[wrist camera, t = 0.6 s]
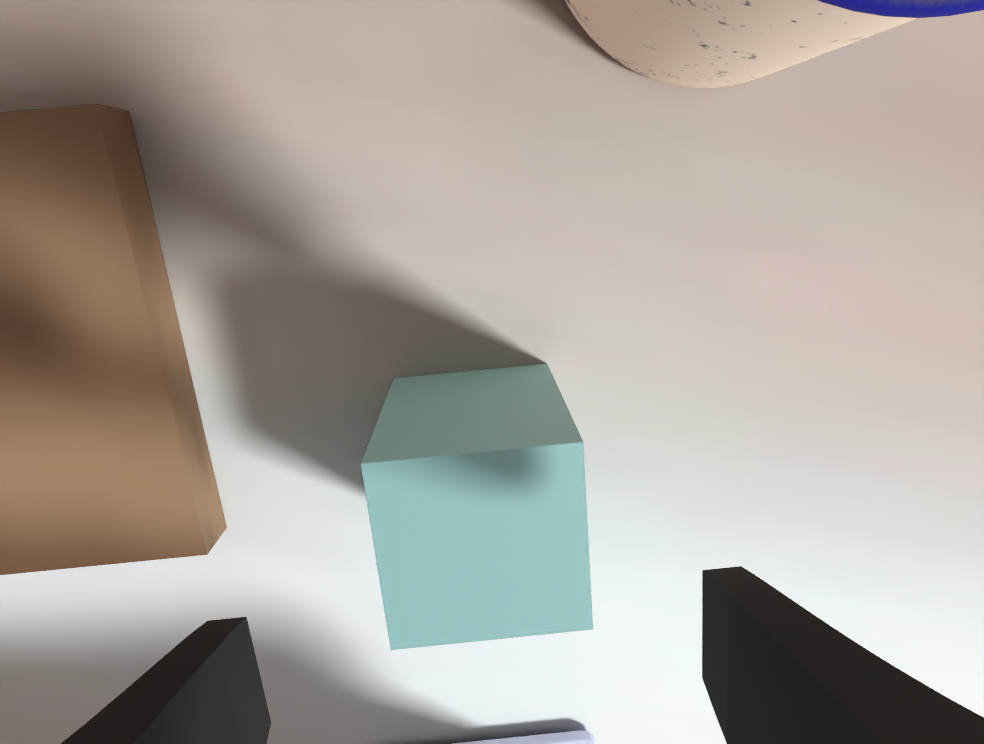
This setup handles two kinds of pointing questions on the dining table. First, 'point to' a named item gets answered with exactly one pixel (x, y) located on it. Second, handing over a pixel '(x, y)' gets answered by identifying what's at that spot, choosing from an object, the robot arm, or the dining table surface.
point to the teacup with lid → (739, 33)
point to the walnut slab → (91, 357)
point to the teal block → (478, 508)
